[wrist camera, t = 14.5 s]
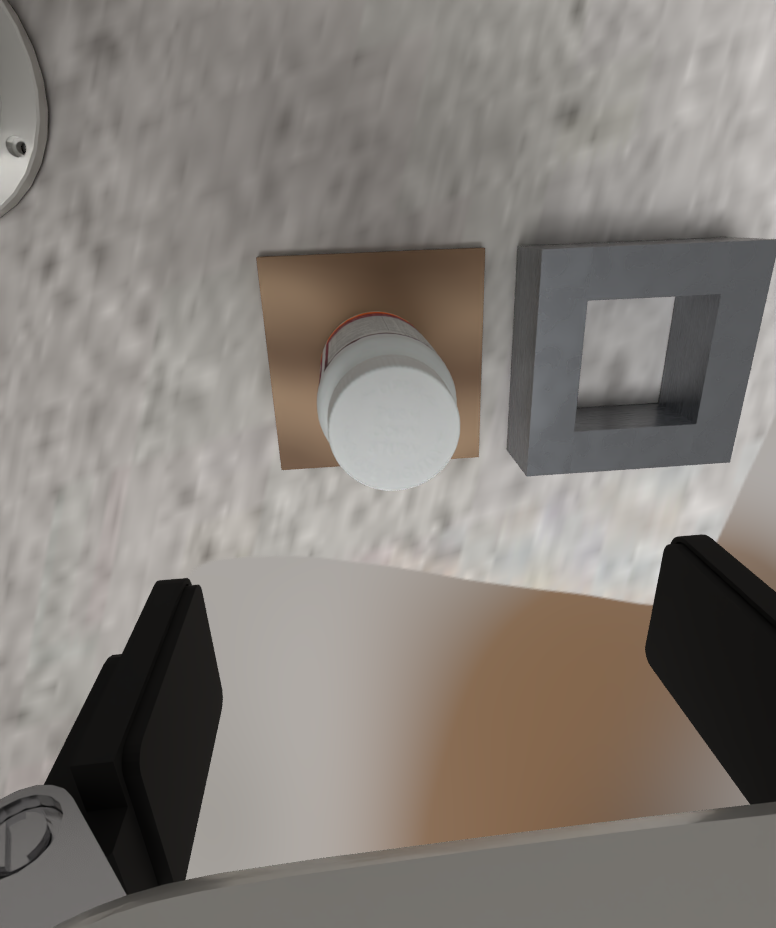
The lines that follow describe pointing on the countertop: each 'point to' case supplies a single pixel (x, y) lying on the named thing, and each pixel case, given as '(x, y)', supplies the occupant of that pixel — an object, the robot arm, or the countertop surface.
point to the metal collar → (687, 360)
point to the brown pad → (358, 291)
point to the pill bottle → (386, 402)
